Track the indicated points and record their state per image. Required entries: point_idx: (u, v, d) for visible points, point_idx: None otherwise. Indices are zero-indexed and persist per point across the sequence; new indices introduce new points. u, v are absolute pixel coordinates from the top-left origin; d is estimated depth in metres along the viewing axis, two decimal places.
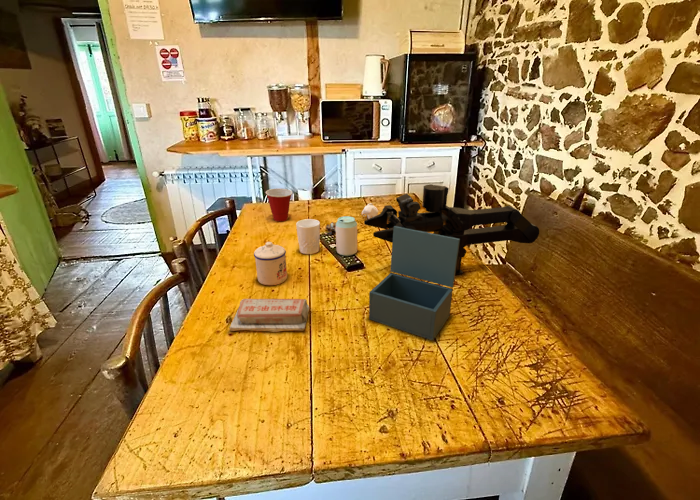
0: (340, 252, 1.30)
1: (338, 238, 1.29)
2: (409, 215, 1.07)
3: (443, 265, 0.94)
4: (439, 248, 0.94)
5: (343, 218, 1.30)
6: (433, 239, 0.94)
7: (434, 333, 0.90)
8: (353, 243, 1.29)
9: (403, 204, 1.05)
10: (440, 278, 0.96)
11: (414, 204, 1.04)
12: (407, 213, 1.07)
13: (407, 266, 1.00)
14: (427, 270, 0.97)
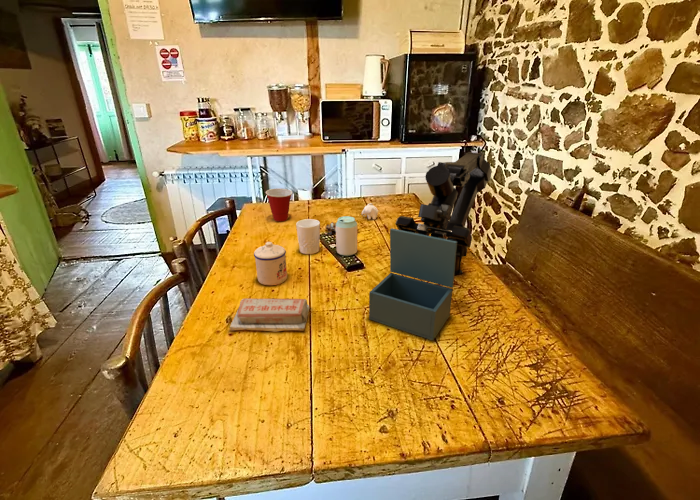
0: (340, 252, 1.30)
1: (338, 238, 1.29)
2: (442, 218, 0.96)
3: (442, 267, 0.94)
4: (436, 250, 0.93)
5: (343, 218, 1.30)
6: (430, 242, 0.93)
7: (434, 333, 0.90)
8: (353, 243, 1.29)
9: (437, 218, 0.93)
10: (440, 279, 0.96)
11: (447, 210, 0.92)
12: (441, 219, 0.95)
13: (406, 267, 0.99)
14: (427, 271, 0.97)
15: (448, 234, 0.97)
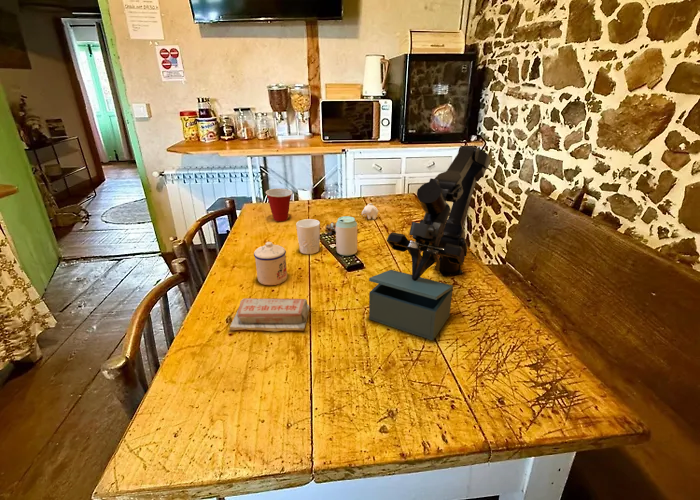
0: (340, 252, 1.30)
1: (338, 238, 1.29)
2: (434, 236, 0.93)
3: None
4: None
5: (343, 218, 1.30)
6: None
7: (434, 333, 0.90)
8: (353, 243, 1.29)
9: (428, 237, 0.90)
10: None
11: (439, 228, 0.90)
12: (432, 237, 0.93)
13: None
14: None
15: (440, 252, 0.95)
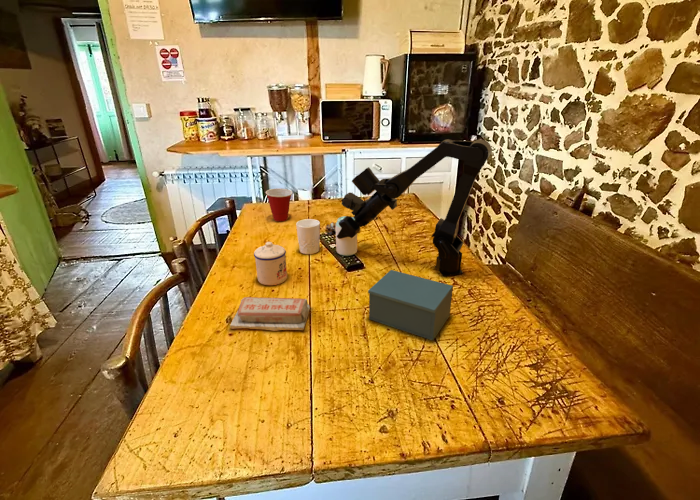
0: (340, 252, 1.30)
1: None
2: (353, 208, 1.23)
3: None
4: None
5: (343, 218, 1.30)
6: None
7: (434, 333, 0.90)
8: (353, 243, 1.29)
9: None
10: None
11: (344, 200, 1.21)
12: (351, 208, 1.24)
13: None
14: None
15: None
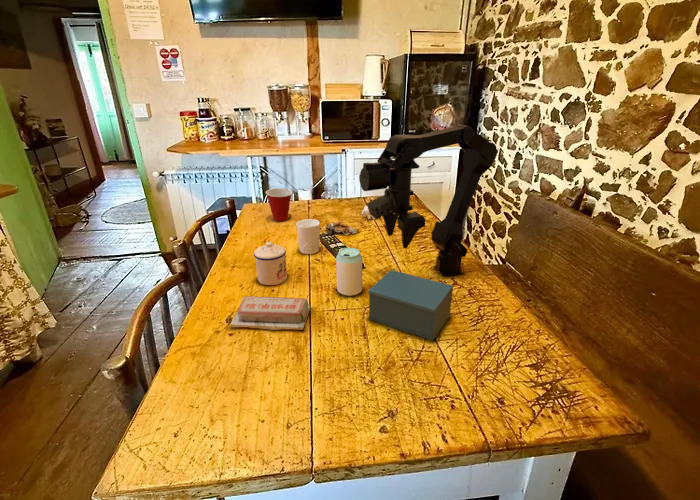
0: (351, 293, 1.07)
1: (348, 277, 1.05)
2: (390, 208, 1.01)
3: None
4: None
5: (342, 252, 1.06)
6: None
7: (434, 333, 0.90)
8: None
9: (378, 217, 1.01)
10: None
11: (380, 210, 0.98)
12: None
13: None
14: None
15: None
